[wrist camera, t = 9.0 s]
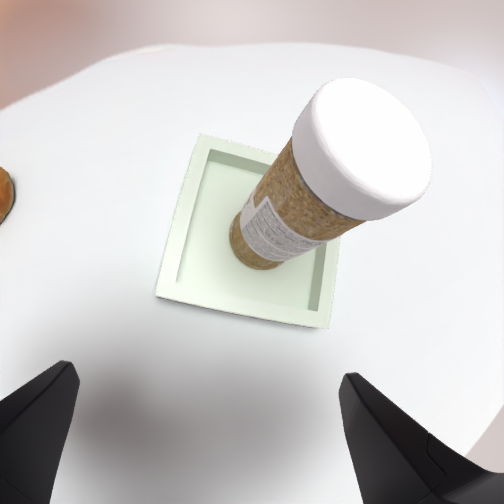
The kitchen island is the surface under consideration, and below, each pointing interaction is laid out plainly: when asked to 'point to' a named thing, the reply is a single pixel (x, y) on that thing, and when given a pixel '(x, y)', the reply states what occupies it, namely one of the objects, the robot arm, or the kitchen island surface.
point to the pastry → (5, 193)
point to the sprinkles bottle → (333, 174)
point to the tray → (222, 255)
